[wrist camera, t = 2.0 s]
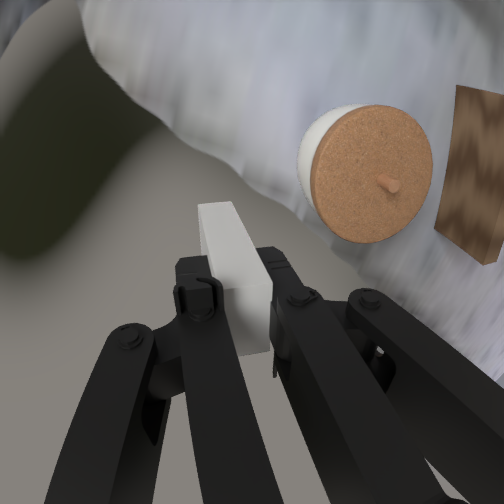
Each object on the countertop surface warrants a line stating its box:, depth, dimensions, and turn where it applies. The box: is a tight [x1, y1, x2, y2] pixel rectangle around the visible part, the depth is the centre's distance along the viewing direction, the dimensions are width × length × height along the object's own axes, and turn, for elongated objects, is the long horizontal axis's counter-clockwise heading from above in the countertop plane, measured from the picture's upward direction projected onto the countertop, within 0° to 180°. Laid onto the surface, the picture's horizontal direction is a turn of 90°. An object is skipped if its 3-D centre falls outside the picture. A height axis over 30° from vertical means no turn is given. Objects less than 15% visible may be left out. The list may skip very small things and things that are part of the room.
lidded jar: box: [297, 104, 433, 243], centre depth 24 cm, size 11×11×9 cm
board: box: [434, 85, 504, 265], centre depth 28 cm, size 18×3×9 cm, turn 0°
